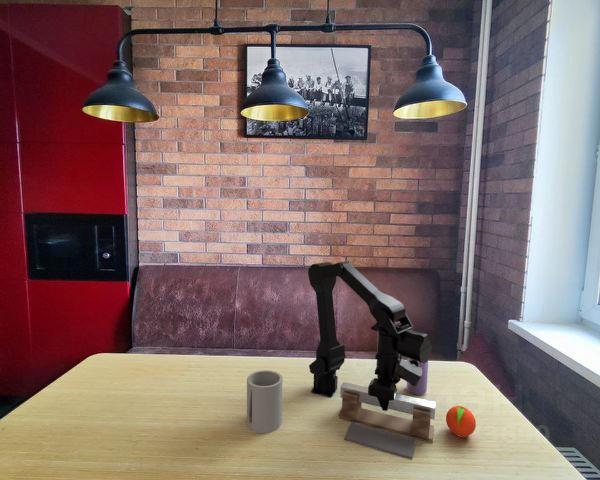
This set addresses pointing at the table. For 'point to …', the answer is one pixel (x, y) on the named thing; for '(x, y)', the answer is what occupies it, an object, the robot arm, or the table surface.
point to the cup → (264, 401)
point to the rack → (387, 419)
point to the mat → (381, 440)
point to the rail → (398, 404)
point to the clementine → (460, 421)
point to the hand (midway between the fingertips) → (385, 407)
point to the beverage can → (420, 381)
